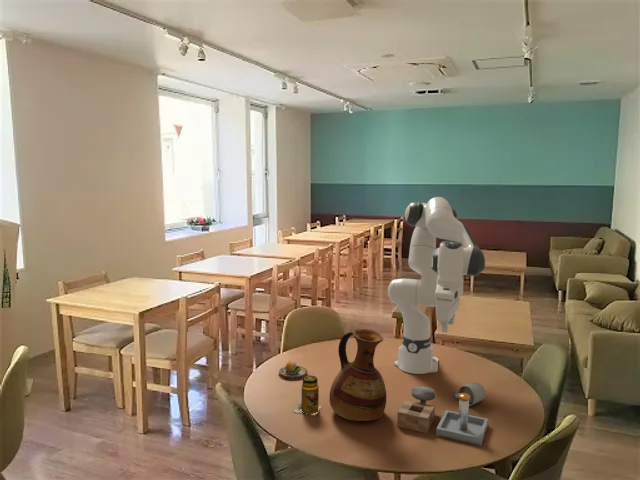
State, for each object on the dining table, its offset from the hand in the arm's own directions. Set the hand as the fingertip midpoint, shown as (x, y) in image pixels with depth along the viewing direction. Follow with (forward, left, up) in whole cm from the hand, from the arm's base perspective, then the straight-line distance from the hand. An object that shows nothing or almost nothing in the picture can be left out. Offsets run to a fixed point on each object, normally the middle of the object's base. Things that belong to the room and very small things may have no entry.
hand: (448, 327), depth 172 cm
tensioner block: (+8, -7, -31) cm, 33 cm away
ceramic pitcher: (+15, -27, -31) cm, 44 cm away
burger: (-5, -64, -31) cm, 71 cm away
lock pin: (+10, +8, -30) cm, 33 cm away
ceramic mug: (-13, +6, -31) cm, 34 cm away
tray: (+10, +8, -31) cm, 33 cm away
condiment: (+20, -44, -31) cm, 57 cm away
